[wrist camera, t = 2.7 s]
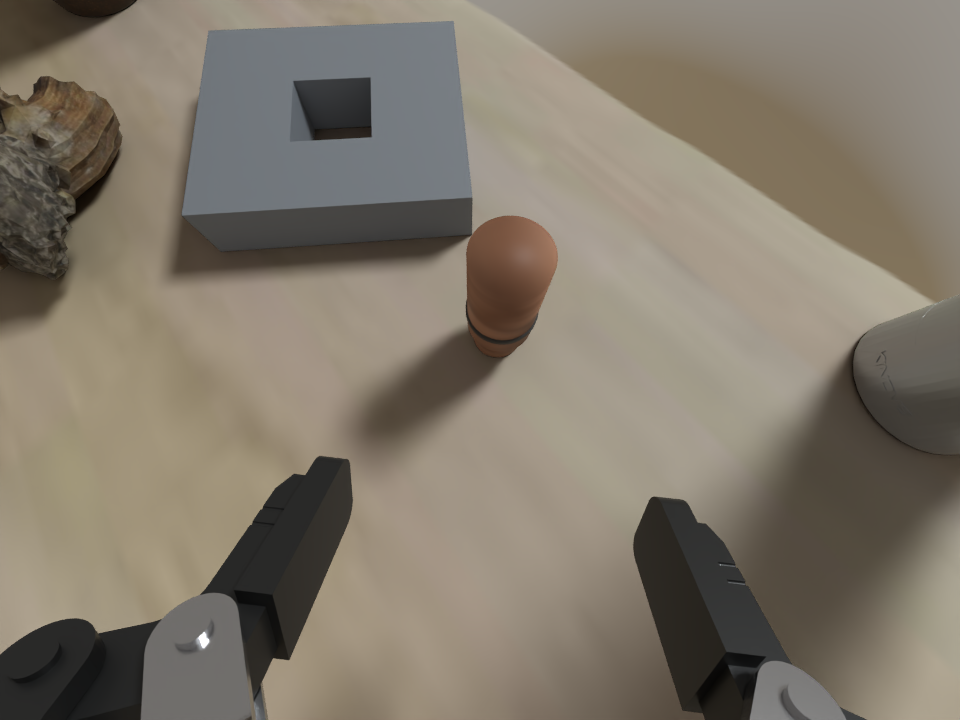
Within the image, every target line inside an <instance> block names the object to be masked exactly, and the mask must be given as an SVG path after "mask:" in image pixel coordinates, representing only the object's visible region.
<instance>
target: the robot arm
mask: <svg viewBox="0 0 960 720" xmlns="http://www.w3.org/2000/svg"><path fill="white" fill-rule="evenodd" d="M853 371H854V379H855V382H856V386H857V390H858V392H859V394H860V396H861V398H862V400H863V402H864V404H865V406H866V407H867V409H868V410H869V411H870V413H871V414H872V416H873V417H874V418H875V419H876V420H877V421H878V422H879V423H880V424H881V425H882V426H883V427H884V428H885V429H886V430H887V431H888V432H889V433H891V434H892V435H893V436H895V437H896V438H898V439H899V440H900V441H902V442H904V443H906V444H908V445H910V446H912V447H914V448H916V449H919V450H922V451H925V452H929V453H933V454H942V455H957V454H960V295H957V296H954V297H952V298H949V299H946V300H943V301H940V302H938V303H935V304H933V305H930V306H927V307H925V308H922V309H919V310H917V311H914V312H911V313H909V314H906V315H903V316H901V317H898V318H895V319H893V320H890V321H887V322H885V323H882V324H879V325H877V326H876V327H874V328H872V329H871V330H869V331H868V332H867V333H866V334H865V335H864V336H863V337H862V339H861V340H860V342H859V344H858V346H857V348H856V350H855V355H854V360H853ZM352 503H353V498H352V485H351V473H350V463H349V460H348V459H341V458H333V457H324V456H319V457H317V458H316V459H315V461H314V462H313V464H312V465H311V467H310V469H309V470H308V472H307V473H306V475H298V474H293V475H292V476H291V477H289V478H288V479H287V480H286V481H284V482H283V483H282V484H280V485H279V486H278V487H276V488H275V490H274V491H273V493H272V494H271V495H270V497H269V498H268V500H267V501H266V503H265V504H264V506H263V509H262V510H260V511H259V513H258V514H257V516H256V517H255V519H254V520H253V523H252V525H250V526H249V527H248V529H247V530H246V532H245V533H244V535H243V536H242V537H241V539H240V540H239V542H238V543H237V545H236V546H235V548H234V549H233V550H232V552H231V553H230V555H229V556H228V558H227V559H226V561H225V562H224V564H223V565H222V566H221V568H220V569H219V571H218V572H217V574H216V575H215V577H214V578H213V579H212V581H211V582H210V584H209V585H208V586H207V588H206V589H205V590H204V591H203V592H202V593H201V594H200V595H199V596H196V597H193V598H191V599H189V600H187V601H185V602H183V603H182V604H180V605H178V606H177V607H176V608H174V609H173V610H172V611H170V612H169V613H168V614H167V615H166V616H165V617H164V618H163V619H161V620H158V621H155V622H151V623H146V624H142V625H137V626H132V627H127V628H122V629H118V630H113V631H108V632H103V633H97V631H96V630H95V628H94V627H93V625H92V624H91V623H89V622H88V621H86V620H83V619H65V620H60V621H57V622H53V623H50V624H48V625H45V626H43V627H41V628H39V629H37V630H35V631H33V632H31V633H29V634H28V635H26V636H24V637H23V638H21V639H20V640H18V641H17V642H15V643H14V644H13V645H11V646H10V647H9V648H8V649H6V650H5V651H4V652H3V653H2V654H1V655H0V720H268V715H267V709H266V702H265V696H264V690H263V683H262V681H263V678H264V676H265V674H266V672H267V670H268V668H269V665H270V663H271V661H272V659H273V658H276V659H284V660H290V657H291V655H292V653H293V650H294V648H295V646H296V643H297V641H298V639H299V636H300V634H301V632H302V629H303V627H304V625H305V622H306V620H307V618H308V615H309V613H310V611H311V608H312V606H313V604H314V601H315V599H316V597H317V594H318V592H319V590H320V587H321V585H322V583H323V580H324V578H325V576H326V573H327V571H328V569H329V566H330V564H331V562H332V559H333V557H334V555H335V553H336V550H337V548H338V546H339V543H340V541H341V539H342V536H343V534H344V532H345V529H346V527H347V525H348V522H349V519H350V515H351V511H352ZM633 548H634V556H635V561H636V564H637V567H638V570H639V573H640V577H641V580H642V583H643V586H644V589H645V592H646V596H647V599H648V602H649V605H650V608H651V612H652V615H653V618H654V621H655V624H656V627H657V631H658V634H659V637H660V640H661V643H662V647H663V650H664V653H665V656H666V659H667V662H668V666H669V669H670V672H671V675H672V678H673V682H674V685H675V688H676V691H677V694H678V697H679V701H680V704H681V707H682V710H683V711H691V712H699V713H703V715H704V718H705V720H866V719H864V718H862V717H860V716H857V715H855V714H853V713H851V712H848V711H846V710H844V709H842V708H841V707H839V706H838V704H837V703H836V702H835V700H834V699H833V698H832V696H831V695H830V694H829V693H828V692H827V691H826V690H825V689H824V688H823V687H822V686H821V684H819V683H818V682H817V681H816V680H815V679H814V678H812V677H811V676H810V675H808V674H807V673H806V672H804V671H802V670H801V669H799V668H797V667H795V666H793V665H792V664H791V662H790V660H789V659H788V657H787V656H786V654H785V652H784V650H783V648H782V647H781V645H780V643H779V641H778V639H777V638H776V636H775V634H774V632H773V630H772V629H771V627H770V625H769V623H768V621H767V620H766V618H765V616H764V614H763V612H762V611H761V609H760V607H759V605H758V603H757V602H756V600H755V598H754V596H753V594H752V593H751V591H750V589H749V587H748V586H746V585H745V580H744V578H743V576H742V575H741V573H740V571H739V569H738V568H736V567H735V562H734V560H733V558H732V557H731V555H730V553H729V551H728V549H727V548H726V546H725V544H724V542H723V541H722V540H721V539H720V538H719V537H718V536H717V535H716V534H715V533H714V532H713V531H712V530H711V529H710V528H709V527H708V526H707V525H706V524H702V523H697V521H696V519H695V517H694V515H693V513H692V511H691V509H690V507H689V505H688V504H687V503H686V502H685V501H684V500H680V499H671V498H663V497H652V498H651V499H650V500H649V502H648V505H647V507H646V509H645V512H644V514H643V516H642V519H641V521H640V523H639V526H638V528H637V531H636V533H635V536H634V544H633Z"/></svg>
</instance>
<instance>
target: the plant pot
mask: <svg viewBox="0 0 960 720" xmlns="http://www.w3.org/2000/svg"><path fill="white" fill-rule="evenodd" d="M53 1H55V2H56V3H58V4H59V5H60V6H62V7H63V8H65V9H66V10H68V11H70V12H71V13H74V14H77V15H80V16H86V17H100V16H105V15H110V14H113V13H116V12H118V11H121V10H123V9H125V8H127V7H128V6H129V5H131V4H132V3H133V2H134V1H136V0H53Z"/></svg>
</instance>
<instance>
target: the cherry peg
mask: <svg viewBox="0 0 960 720" xmlns="http://www.w3.org/2000/svg"><path fill="white" fill-rule="evenodd" d="M466 257H467V301H466V317H467V321H468V328H469V331H470V334H471V335H472V337H473V338H474V341H475V344H476V346H477V347H478V349H479V350H480V351H481V352H483V353H484V354H486V355H488V356H491V357H504V356H507V355H509V354H511V353H512V352H513V351H514V350H515V349H516V348H517V347H518V346H520V345H521V344H522V343H523V342H524V341H525V340H526V339H527V337H528V335H529V334H530V332H531V330H532V329H533V327H534V325H535V323H536V320H537V317H538V312H539V309H540V307H541V304H542V302H543V299H544V297H545V295H546V292H547V290H548V287H549V285H550V282H551V280H552V277H553V275H554V273H555V270H556V267H557V262H558V254H557V248H556V245H555V243H554V241H553V239H552V237H551V236H550V234H549V233H548V232H547V231H546V230H545V229H544V228H543V227H542V226H540V225H539V224H537V223H536V222H534V221H532V220H530V219H527V218H524V217H519V216H502V217H497V218H494V219H491V220H489V221H487V222H485V223H484V224H482V225H481V226H480V227H479V228H478V229H477V230H476V231H475V232H474V233H473V235H472V236H471V238H470V240H469V242H468V246H467V252H466Z"/></svg>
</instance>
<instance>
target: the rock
mask: <svg viewBox="0 0 960 720" xmlns="http://www.w3.org/2000/svg"><path fill="white" fill-rule="evenodd" d="M119 126H120V123H119V121H118V119H117V117H116V115H115V113H114V111H113V109H112V108H111V106H110V105H109V103H108V102H107V100H106V99H104V98H101V97H99V96H98V95H97V94H96V93H95V92H94V91H85V90H83V89H82V88H81V87H80V86H79V85H78V84H76V83H75V82H61V81H58V80H56V79H54V78H52V77H50V76H45V77H40V78H39V79H38V81H37V83H35V84H34V93H33V95H32V96H31V97H30V98H29V99H28V100H27V101H25V100H21V98H20V97H19V95H13V96H9V95H8V94H6V93H5V92H4V91H2V90H1V89H0V269H1V270H3V269H4V268H5V267H6V266H7V265H11V266H13V267H15V268H17V269H19V270H21V271H23V272H34V273H38V274H41V275H45V276H47V277H48V278H50V279H52V280H55V279H57V278H58V277H59V276H61V275H62V274H64V273H65V272H66V271H65V269H68V258H67V256H66V254H65V252H66V250H67V249H68V248H67V246H66V244H65V242H64V238H65V236H66V234H67V232H68V230H70V229H71V228H72V227H71V226H70V225H69V224H68V222H67V221H66V219H67V217H69V216H71V215H73V214H75V213H76V206H75V200H76V199H77V198H78V197H79V196H80V195H82V194H83V193H84V192H85V191H86V190H87V189H89V188H90V187H91V186H92V185H93V184H94V183H95V182H96V181H97V180H99V179H100V178H101V177H103V176H104V175H105V173H106V171H107V170H108V168H109V166H110V165H111V163H112V161H113V159H114V158H115V156H116V154H117V152H118V150H119V148H120V146H121V142H122V134H121V133H120V131H119Z"/></svg>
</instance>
